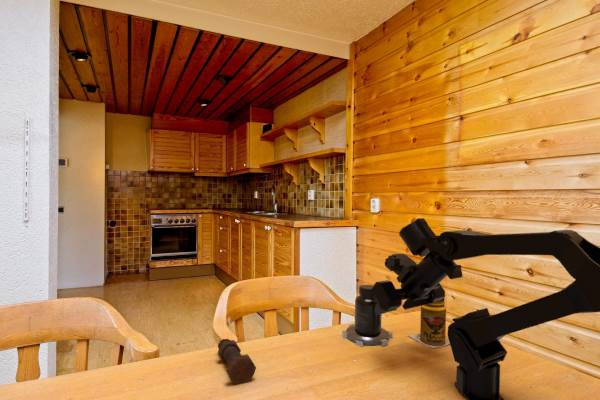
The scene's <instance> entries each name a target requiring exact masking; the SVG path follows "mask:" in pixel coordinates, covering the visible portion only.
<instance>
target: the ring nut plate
mask: <svg viewBox="0 0 600 400" xmlns="http://www.w3.org/2000/svg"><path fill="white" fill-rule="evenodd" d="M342 338H343V339H347V340H348V341H350V342H353V343H354V344H355V345H356V346H357V347H358V346H359V347H364V346H380V347H385V346H388V345H389V344H388V343H389V340H390V339H393V333H392V331H391V330H386V329H384V328H383V327H381V334H380V335H379V336H376V337H364V336H361V335H358V334H357V333H356V332H355V323H352V324H349V325H348V327H347V328H346V330H342Z"/></svg>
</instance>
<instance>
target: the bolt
mask: <svg viewBox="0 0 600 400" xmlns="http://www.w3.org/2000/svg"><path fill="white" fill-rule="evenodd" d="M217 348H218V351H217V354H218V356H219V358H220V359H221V361H222V363H223V364H227V365H228V366H227V368H226V369H225V372H226V374H227V375H228V377H229V379H230V380H231V382H232V383H233V385H237V386H238V385H243V384H246V383H249V382H250V381H251V380H252V379H253V377H254V375H255V373H256V369H257V366H256V365H255V364H254V362H253V360H252V358H251V357H250V356H249V354H248V353H247V354H242V353H241V351H242V350H241V348H240V347H239V345H238V344H237V342H236V341H235V339H234V340H233V339H232V340H231V339H229V338H222V339H220V341H219V342H218V344H217Z"/></svg>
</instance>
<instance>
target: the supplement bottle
mask: <svg viewBox="0 0 600 400" xmlns="http://www.w3.org/2000/svg"><path fill="white" fill-rule="evenodd" d="M373 285H374V284H360V285H359V286H358V289H359V290H358V294H359V295H357V296H356V297H355V300H354V324H355V332H356V333H357V334H358V335H361V336H364V337H376V336H379V335H380V334H381V328H382V315H383V314H380V315H376V313H375V308H376V305H377V301H378V300H377V298H376V296H375V295H374V293H373V291H372V289H371V288H372V286H373Z"/></svg>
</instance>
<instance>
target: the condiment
mask: <svg viewBox="0 0 600 400" xmlns="http://www.w3.org/2000/svg"><path fill="white" fill-rule="evenodd" d="M433 297H434V296H433ZM445 303H446V302H445V297H444V298H443V299H442V300H441V301H437V302H435V303H431V304H426V305H422V306H420V324H419V325H420V328H419V329H420V330H419V331H420V332H419V333H416V334H412V335H408V337H410V338H411V339H413V340H415V341H418V342H419V343H420V344H423V345H425V346H427V347H429V348H430V349H435V348H441V347H445V346H448V345H450V342H449V339H448V340H447V339H446V338H447V337H446V331H447V329H446V327H447V324H446V322H447V309H446V306H445ZM419 337H420V338H419Z"/></svg>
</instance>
